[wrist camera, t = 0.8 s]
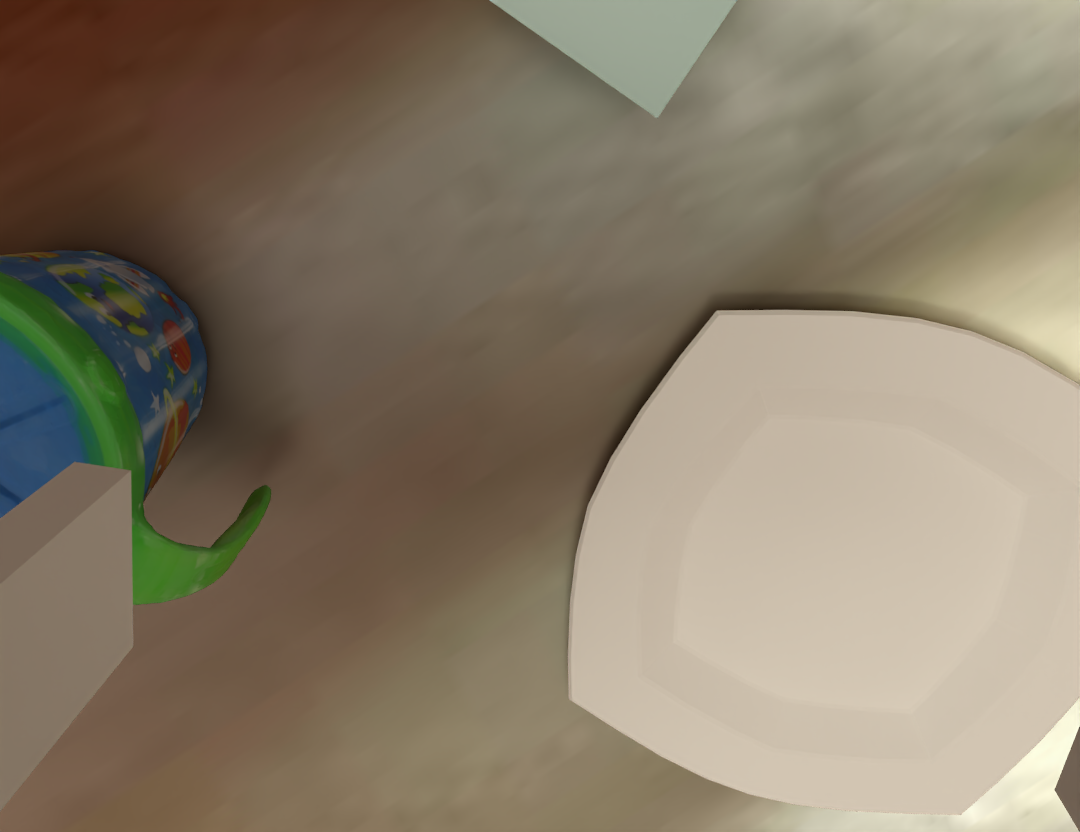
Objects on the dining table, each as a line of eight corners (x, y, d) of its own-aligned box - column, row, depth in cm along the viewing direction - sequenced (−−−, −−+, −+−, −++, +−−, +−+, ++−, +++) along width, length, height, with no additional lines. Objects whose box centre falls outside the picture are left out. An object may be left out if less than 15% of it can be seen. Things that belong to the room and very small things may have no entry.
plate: (1219, 401, 34) (1255, 422, 32) (967, 828, 40) (984, 865, 38) (679, 229, 33) (683, 240, 31) (513, 694, 39) (509, 726, 38)
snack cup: (-155, 314, 35) (-437, 413, 26) (-6, 78, 32) (-264, 91, 22) (204, 582, 38) (71, 760, 29) (372, 390, 35) (286, 518, 25)
